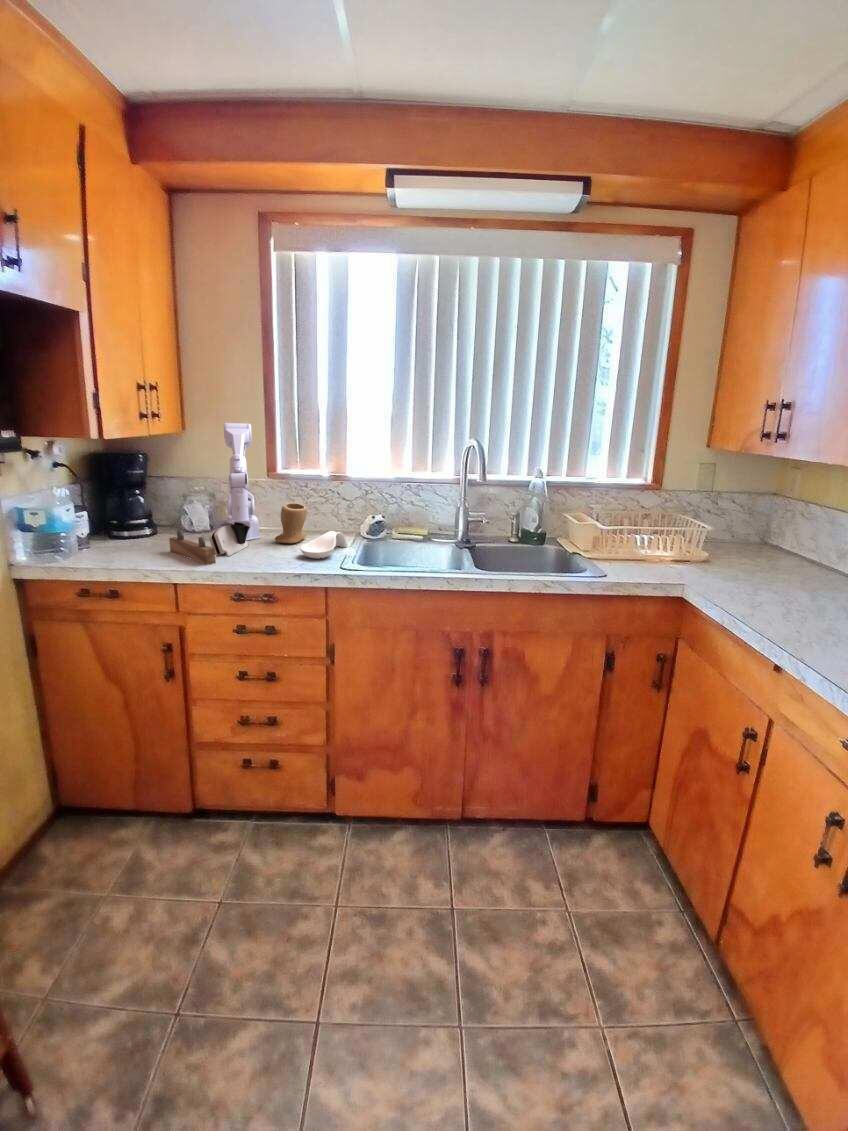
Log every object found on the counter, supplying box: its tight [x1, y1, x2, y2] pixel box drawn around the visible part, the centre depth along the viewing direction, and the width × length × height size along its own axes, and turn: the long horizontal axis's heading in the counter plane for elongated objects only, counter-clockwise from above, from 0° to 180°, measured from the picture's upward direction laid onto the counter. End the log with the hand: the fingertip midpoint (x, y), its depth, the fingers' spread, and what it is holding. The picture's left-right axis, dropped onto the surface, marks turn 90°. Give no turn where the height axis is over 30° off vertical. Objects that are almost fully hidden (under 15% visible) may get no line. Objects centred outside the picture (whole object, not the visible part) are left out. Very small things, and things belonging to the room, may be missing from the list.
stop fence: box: [168, 530, 217, 565], centre depth 190 cm, size 3×24×8 cm, turn 50°
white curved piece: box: [208, 524, 249, 557], centre depth 201 cm, size 17×5×10 cm, turn 173°
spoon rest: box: [299, 530, 348, 560], centre depth 202 cm, size 24×12×7 cm, turn 160°
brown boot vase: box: [274, 502, 308, 544], centre depth 218 cm, size 15×12×15 cm
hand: (241, 543), depth 205 cm, fingers closed
